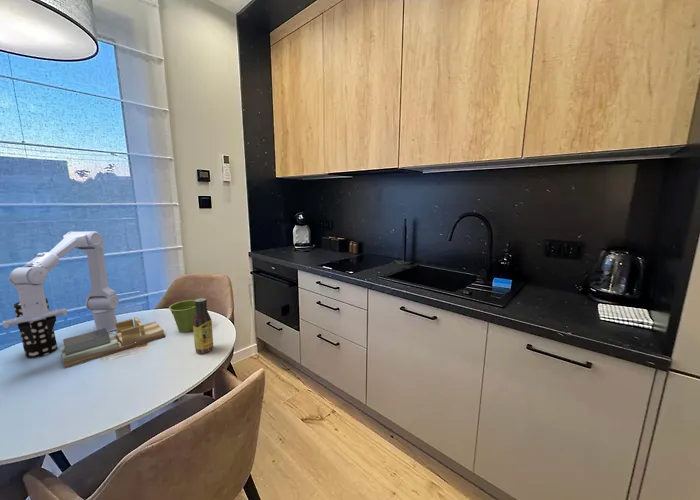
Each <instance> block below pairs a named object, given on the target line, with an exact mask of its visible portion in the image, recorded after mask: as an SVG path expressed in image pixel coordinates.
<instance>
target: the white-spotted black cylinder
mask: <svg viewBox="0 0 700 500" xmlns="http://www.w3.org/2000/svg"><path fill="white" fill-rule="evenodd" d="M45 299H46V303H47V308H48V311H51V309H50V305H49V301H48V298H47V297H45ZM13 309H14V313H15V318H18V317H21V316H23V313H22V308H21V304H20V301H19V302H16V303H14V304H13ZM30 327H31V331H32V334H33V337H34V341H35V343H34V344H31V341H30V340H29V338H28V337H27V336H26V335H25V334H24V333H23V332H22V331H21V330H20V329H19V328H18V329H19V334H20V338H21V342H22V347H23V351H24V355H25V358H26V359H37V358H40V357H45V356H47V355H50V354H53V353H54V352H56V351H57V350H58V343H57V338H56V334H55V329H54V327H53V331H52V339H49V337H48V328H47V324H46V319H42V320H38V321H33V322H30Z"/></svg>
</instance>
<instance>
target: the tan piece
mask: <svg viewBox="0 0 700 500" xmlns="http://www.w3.org/2000/svg"><path fill="white" fill-rule="evenodd" d="M116 328H117V330H116V332H115V335H114V334H113V332H108V334H109V337H110V342H109V343H105V344H102V345H98V346H95V347H91V348H88V349H84V350H81V351H77V352H74V353H71V354H67V355H66V351H65V346H64V345H63V346H62V345H61V346H60V351H61V356H62V360H63V365H64V369H68V368H71V367H74V366H77V365H81V364H83V363H88V362H91V361H92V360H93V361H94V360H97V359H100V358H103V357H106V356H109V355H112V354H116V353H119V352H122V351H125V350H127V349H128V350H129V349H132V348H135V347H138V346H141V344H142V343H145V344H147V343H151V342H154V341H157V340H161V339H163V338H166V334H165V331H164V328H162V327H161V326H160V324H158V323H157V322H156V321H153V322H149V323H146V324H143V323H142V322H141V321H140V319H139V318H137V317H134V318H130V319H127V320H122V321H117V323H116ZM118 342H120V343H121V346H119V344H118ZM135 342H136V343H135ZM142 345H143V344H142Z"/></svg>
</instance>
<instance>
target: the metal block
mask: <svg viewBox="0 0 700 500" xmlns="http://www.w3.org/2000/svg"><path fill="white" fill-rule="evenodd" d="M62 340H63V346H65V351H66V355H67V354H71V353H74V352H77V351H81V350H84V349H88V348H91V347H95V346H98V345H102V344H105V343H109V342H110V337H109V332H107V330H106V328H104V329H100V330H97V331H95V330H93V331H90V332H86V333H82V334H78V335H74V336H70V337H67V338H64V339H62Z"/></svg>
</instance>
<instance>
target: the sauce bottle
mask: <svg viewBox="0 0 700 500" xmlns="http://www.w3.org/2000/svg"><path fill="white" fill-rule="evenodd" d="M194 300H195V301H194V303H195V308H196V313H195V315H194V317H193V330H192V331H193V339H194V349H195V352H196V353H197V354H206V353H210V352H211V351H212V350H213V349H214V335H213V325H212V323H213V322H212V317H211V315H210V313H209V312H208V306H207V301H208V299H206V298H205V297H204V298H203V297H202V298H201V297H200V298H196V299H194Z"/></svg>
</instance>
